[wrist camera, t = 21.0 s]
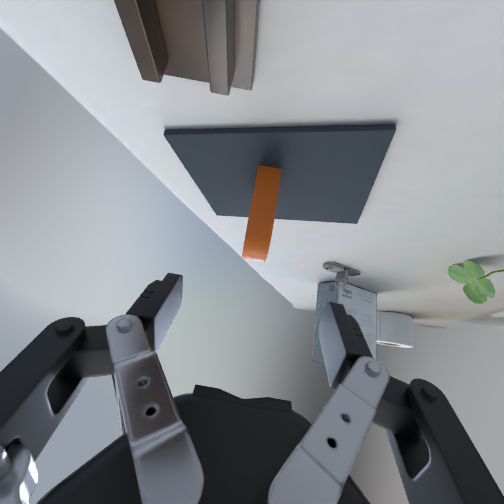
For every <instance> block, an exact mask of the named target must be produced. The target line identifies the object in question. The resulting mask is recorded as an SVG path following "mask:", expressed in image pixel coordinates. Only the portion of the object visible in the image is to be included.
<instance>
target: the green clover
mask: <svg viewBox="0 0 504 504" xmlns="http://www.w3.org/2000/svg"><path fill="white" fill-rule="evenodd" d="M464 267H465V268H466V270H467V271H468V273H467V272H466V271H465V269H463V268H462V267H460V266H459V265H455V264H454V265H453V266H452V267H449V269H448V275H449V276H450V277H451V278H452V279H453V280H455V281H457V282H460V283H465V284H466V283H467V284H466V285H465V286H464V287H463V290H464V293H465V294H466V296H467V297H468V298H469V299H470V300H471V301H473V302H475V303H478V304H482V303H484V302H486V300H487V298H486V296H487V297H490V298H493V297H494V295H495V289H494V286H493V284H492V282H491V281H490V280H489V279H487V278H485V277H487V276H489V275H490V274H492V273H495V272H501V271H504V270H499V271H493V272H491V273H489V274H487V275H486V276H484V273H485V272H484V270H483V268H482V267H480V266H479V265H478V264H476V263H473V262H471V261H465V262H464ZM469 274H470V275H469ZM470 282H471V283H470Z"/></svg>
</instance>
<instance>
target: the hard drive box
mask: <svg viewBox="0 0 504 504" xmlns="http://www.w3.org/2000/svg"><path fill="white" fill-rule="evenodd" d="M343 284H344V282H338V283H337V286H338V285H343ZM328 302H334V303H340V304H343V305H344V308H345V310H346V313H347V314H349V315H352V316H353V317H354V318H355V320H356V321H357V322H358V324H359V326H360V328H361V331H362V333H363V335H364V338H365V340H366V342H367V344H368V347H369V349H370V351H371V354H372V356H373V358H374V359H376V354H377V294H375V293H372V292H370V291H367V290H364V289H361V288H358V287H355V286H352V285H350V284H346V286H345V287H344V288H337V287H335V282H328V283H319V284H318V290H317V303H316V316H315V329H314V341H313V355H312V361H314V362H318V363H322V364H325V361H324V356H323V352H322V347H321V343H320V338H319V323H320V321H321V318H322V315H323V312H324V310H325V307H326V304H327V303H328Z"/></svg>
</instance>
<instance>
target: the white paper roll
mask: <svg viewBox="0 0 504 504" xmlns="http://www.w3.org/2000/svg"><path fill="white" fill-rule="evenodd" d="M412 324H413V322H412V317H411V316H409V315H406V314H401V313H395V312H385V311H377V344H383V345H389V346H398V347H407V348H412V347H413V325H412Z"/></svg>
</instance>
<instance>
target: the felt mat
mask: <svg viewBox="0 0 504 504" xmlns="http://www.w3.org/2000/svg"><path fill="white" fill-rule="evenodd" d="M395 130H396V125H395V124H389V125H349V126H309V127H269V128H229V129H189V130H165V131H164V136H165V138H166V139H167V141H168V142H169V144H170V145H171V147H172V148H173V150H174V151H175V153H176V154H177V156H178V157H179V159H180V160H181V162H182V163H183V165H184V166H185V168H186V169H187V171H188V172H189V174H190V175H191V177H192V179H193V180H194V182H195V183H196V185H197V186H198V188H199V189H200V191H201V192H202V194H203V195H204V197H205V198H206V200H207V201H208V203H209V204H210V206H211V207H212V209H213V210H214V212H215V213H216V215H221V216H237V217H249V213H250V208H251V203H252V197H253V192H254V187H255V182H256V176H257V171H258V166H259V165H263V166H269V167H274V168H280V169H282V172H281V178H280V185H279V191H278V198H277V204H276V211H275V217H274V219H287V220H304V221H321V222H337V223H354V224H357V223H358V220H359V218H360V215H361V213H362V211H363V208H364V206H365V203H366V201H367V198H368V196H369V194H370V191H371V189H372V186H373V184H374V181H375V179H376V177H377V174H378V172H379V169H380V167H381V164H382V162H383V160H384V157H385V155H386V152H387V150H388V147H389V145H390V143H391V140H392V138H393V135H394V133H395Z"/></svg>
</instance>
